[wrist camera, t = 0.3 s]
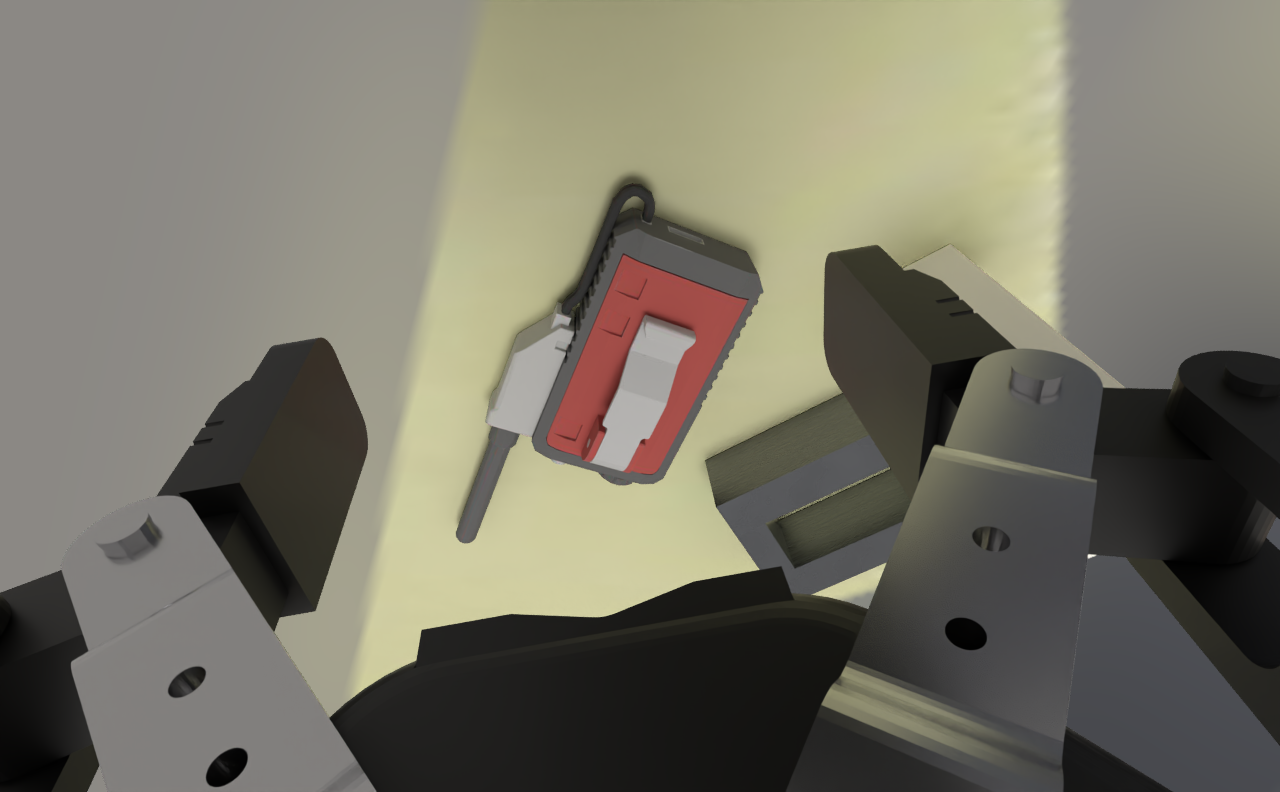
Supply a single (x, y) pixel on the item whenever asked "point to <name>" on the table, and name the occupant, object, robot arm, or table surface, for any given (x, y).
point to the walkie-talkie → (621, 354)
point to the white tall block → (1001, 307)
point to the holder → (811, 497)
